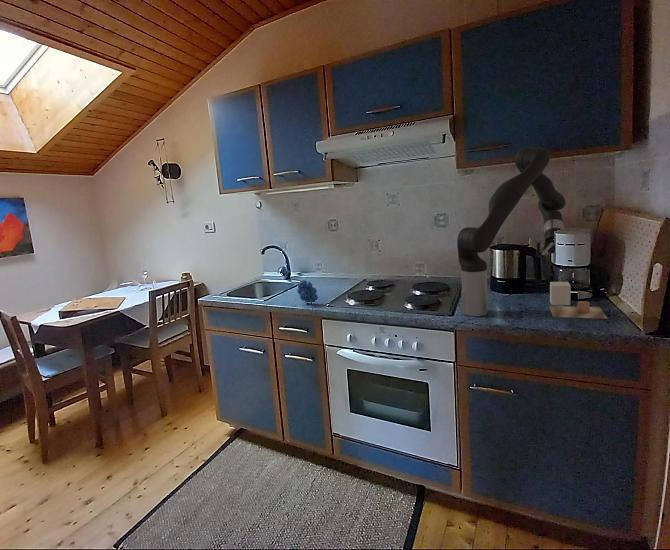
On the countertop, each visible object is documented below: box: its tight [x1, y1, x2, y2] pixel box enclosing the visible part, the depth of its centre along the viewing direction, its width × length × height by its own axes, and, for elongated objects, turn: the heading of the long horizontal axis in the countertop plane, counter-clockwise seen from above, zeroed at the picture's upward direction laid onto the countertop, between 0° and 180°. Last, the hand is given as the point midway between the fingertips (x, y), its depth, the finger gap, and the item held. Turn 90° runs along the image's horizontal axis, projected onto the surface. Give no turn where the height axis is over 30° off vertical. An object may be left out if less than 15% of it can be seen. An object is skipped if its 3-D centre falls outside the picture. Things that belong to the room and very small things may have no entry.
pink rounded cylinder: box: [576, 300, 591, 314], centre depth 136 cm, size 4×4×4 cm
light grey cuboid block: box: [549, 281, 572, 306], centre depth 148 cm, size 6×6×8 cm
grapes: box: [296, 280, 319, 304], centre depth 185 cm, size 12×7×12 cm, turn 58°
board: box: [549, 305, 609, 319], centre depth 137 cm, size 16×13×1 cm
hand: (556, 264), depth 156 cm, fingers open, 8 cm apart
